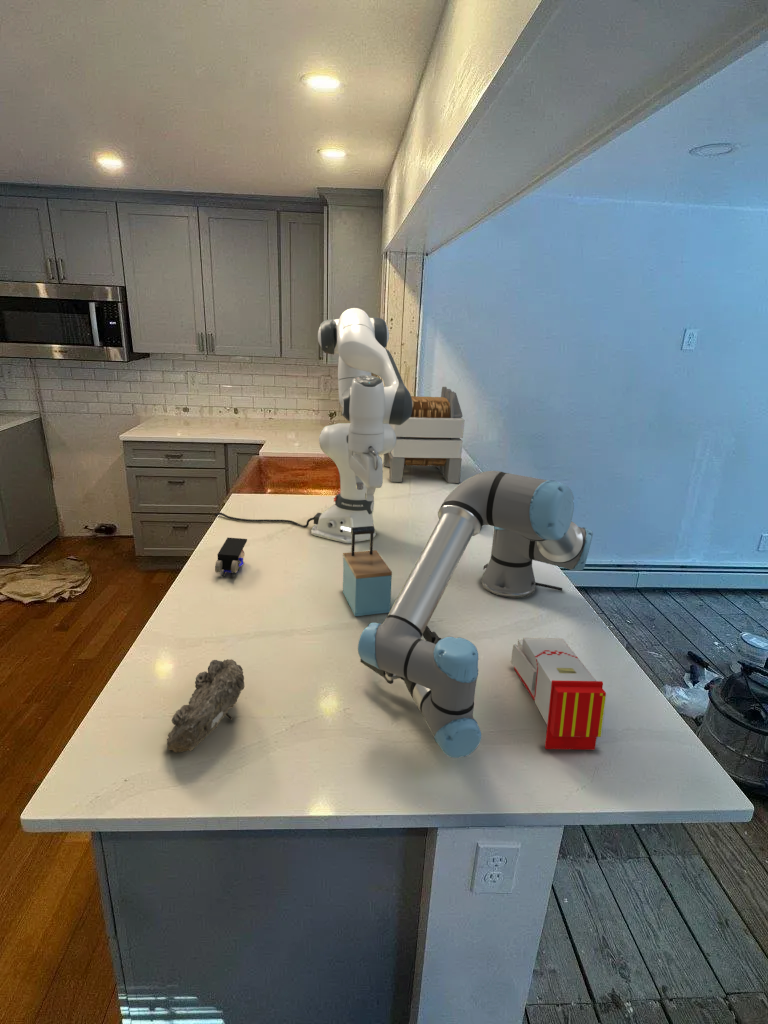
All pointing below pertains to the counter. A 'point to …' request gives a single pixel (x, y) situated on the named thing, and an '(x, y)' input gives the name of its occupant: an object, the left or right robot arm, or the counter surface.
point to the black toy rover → (230, 556)
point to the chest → (366, 592)
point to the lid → (365, 557)
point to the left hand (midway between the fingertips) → (364, 494)
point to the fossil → (206, 705)
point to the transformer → (429, 437)
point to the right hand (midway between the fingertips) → (394, 630)
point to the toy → (561, 692)
